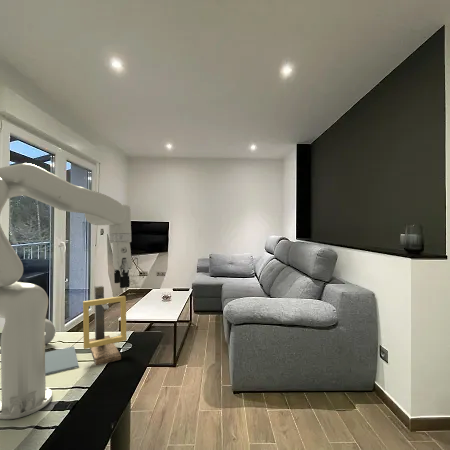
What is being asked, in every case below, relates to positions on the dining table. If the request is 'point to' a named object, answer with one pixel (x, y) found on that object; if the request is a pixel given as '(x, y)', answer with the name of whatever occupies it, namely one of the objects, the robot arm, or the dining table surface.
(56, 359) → the mat
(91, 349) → the stand
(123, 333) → the frame
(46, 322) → the donut
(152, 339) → the dining table surface
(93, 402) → the dining table surface
